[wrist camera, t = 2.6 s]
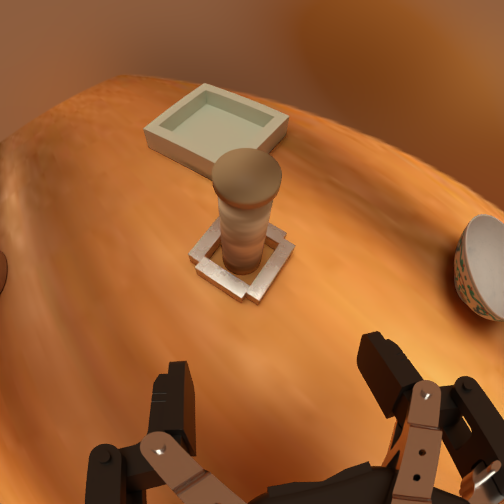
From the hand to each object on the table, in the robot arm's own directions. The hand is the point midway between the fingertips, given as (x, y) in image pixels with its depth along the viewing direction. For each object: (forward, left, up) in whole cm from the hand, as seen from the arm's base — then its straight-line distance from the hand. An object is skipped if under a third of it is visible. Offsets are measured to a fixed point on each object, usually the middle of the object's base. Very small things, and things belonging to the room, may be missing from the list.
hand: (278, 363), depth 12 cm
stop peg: (-8, +10, -18) cm, 22 cm away
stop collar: (-8, +10, -18) cm, 22 cm away
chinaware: (+22, +25, -18) cm, 38 cm away
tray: (-22, +24, -18) cm, 38 cm away
